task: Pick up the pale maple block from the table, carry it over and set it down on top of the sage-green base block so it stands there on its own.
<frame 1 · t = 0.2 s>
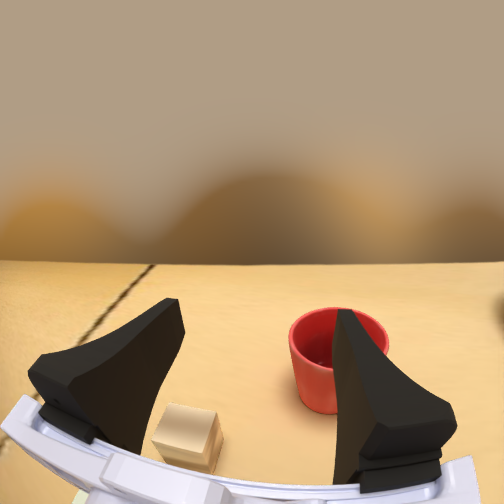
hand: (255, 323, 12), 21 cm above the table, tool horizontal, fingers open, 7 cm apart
flower pot: (328, 392, 32), on the table
maple block: (196, 452, 25), on the table
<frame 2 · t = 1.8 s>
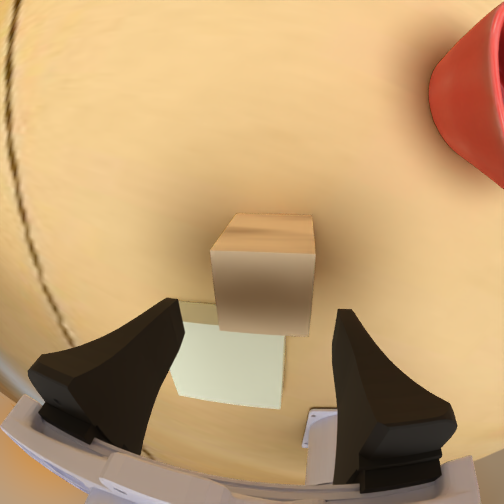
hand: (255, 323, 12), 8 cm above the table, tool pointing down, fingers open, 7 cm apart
flower pot: (471, 108, 13), on the table
maple block: (274, 248, 20), on the table
base block: (229, 346, 25), on the table
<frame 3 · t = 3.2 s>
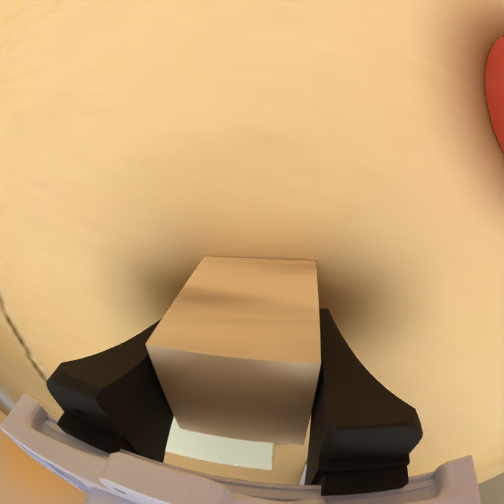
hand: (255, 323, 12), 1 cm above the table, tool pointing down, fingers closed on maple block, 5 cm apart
maple block: (260, 304, 14), on the table, touching gripper
base block: (210, 403, 19), on the table
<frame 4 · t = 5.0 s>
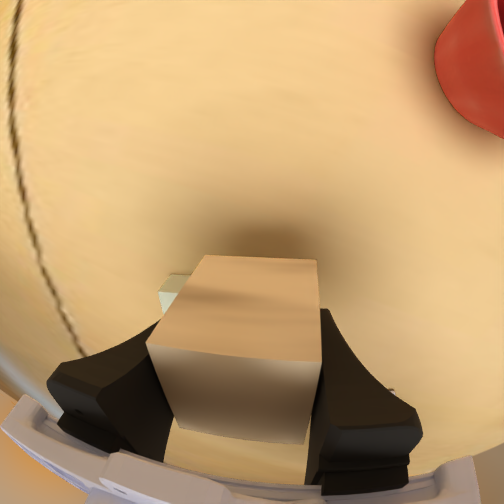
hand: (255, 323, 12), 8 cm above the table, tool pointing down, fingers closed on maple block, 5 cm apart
flower pot: (475, 77, 12), on the table
maple block: (260, 304, 14), point 7 cm above the table, touching gripper
base block: (237, 325, 24), on the table
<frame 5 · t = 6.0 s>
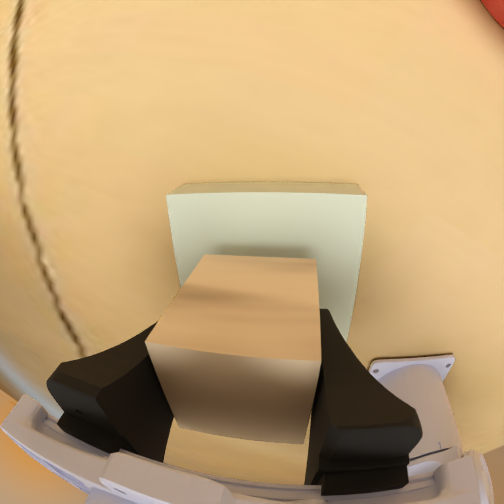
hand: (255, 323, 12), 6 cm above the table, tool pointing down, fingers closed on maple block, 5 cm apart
maple block: (260, 303, 14), point 4 cm above the table, touching gripper
base block: (270, 259, 18), on the table
when the fingers open (6 cm above the table, at t = 6.8 s): maple block drops 2 cm, resting on base block.
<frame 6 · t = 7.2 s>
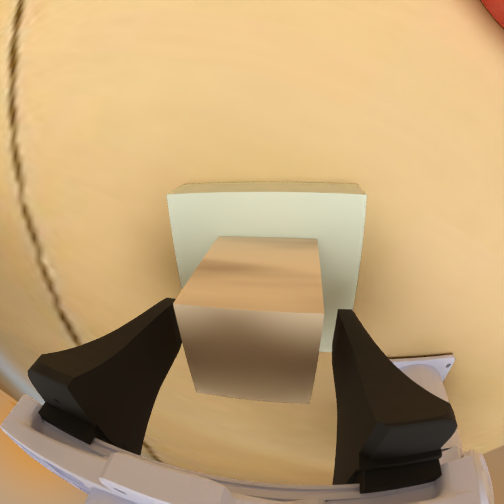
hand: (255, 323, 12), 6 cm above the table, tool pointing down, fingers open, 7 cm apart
maple block: (267, 280, 15), point 2 cm above the table, touching base block
base block: (271, 258, 18), on the table, touching maple block
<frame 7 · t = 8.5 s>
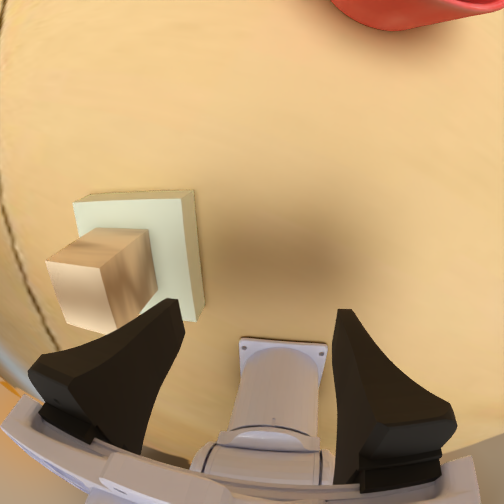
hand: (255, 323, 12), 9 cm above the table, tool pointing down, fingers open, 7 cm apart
maple block: (125, 258, 21), point 2 cm above the table
base block: (147, 246, 24), on the table
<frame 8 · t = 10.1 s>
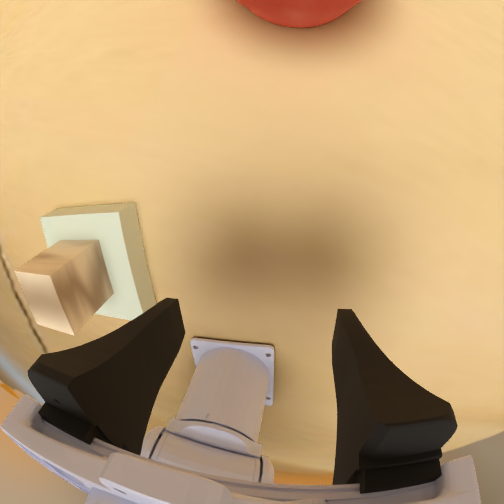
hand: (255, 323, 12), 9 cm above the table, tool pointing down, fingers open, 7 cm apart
maple block: (85, 266, 22), point 2 cm above the table, touching base block
base block: (105, 254, 25), on the table, touching maple block
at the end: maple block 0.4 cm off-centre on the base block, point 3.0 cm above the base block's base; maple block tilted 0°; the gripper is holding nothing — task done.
